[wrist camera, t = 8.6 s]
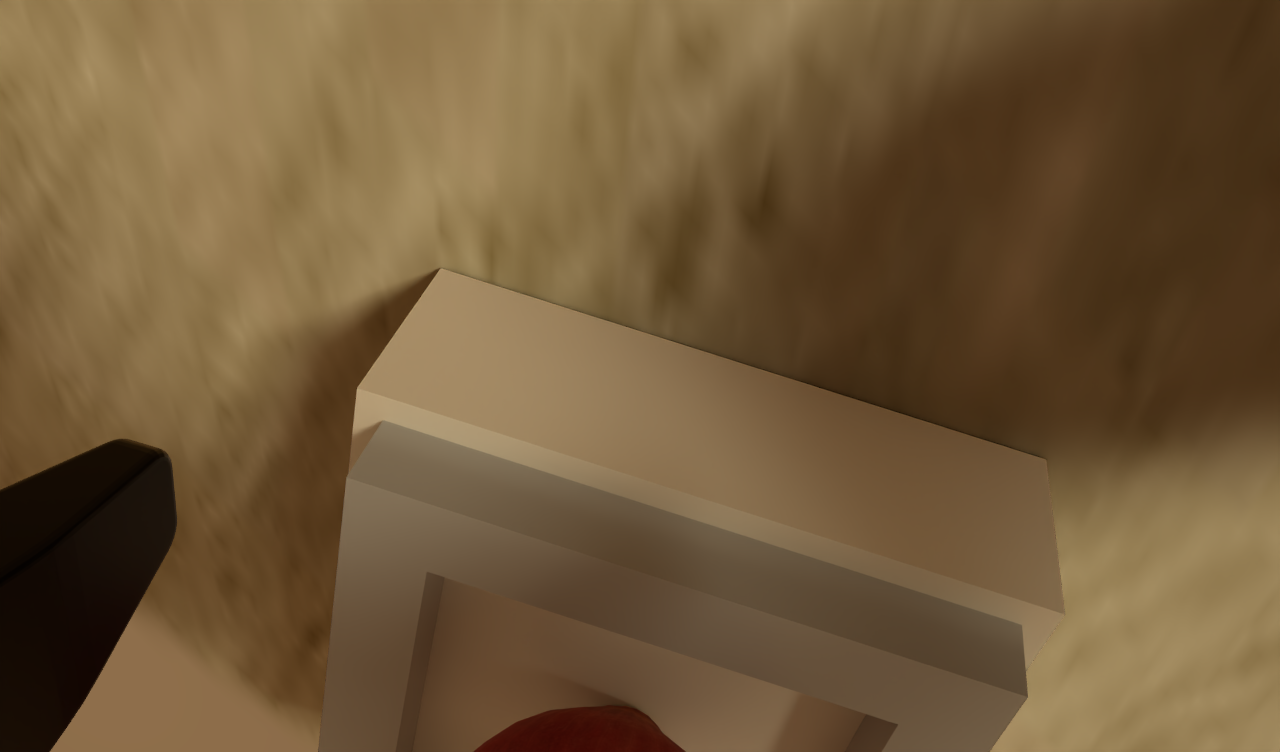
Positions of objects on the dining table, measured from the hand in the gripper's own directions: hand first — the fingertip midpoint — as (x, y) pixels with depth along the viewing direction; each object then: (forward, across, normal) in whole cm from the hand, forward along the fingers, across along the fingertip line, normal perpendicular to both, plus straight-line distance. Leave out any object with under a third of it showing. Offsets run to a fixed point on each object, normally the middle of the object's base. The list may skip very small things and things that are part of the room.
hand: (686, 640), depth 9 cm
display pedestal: (+12, 0, +12) cm, 16 cm away
